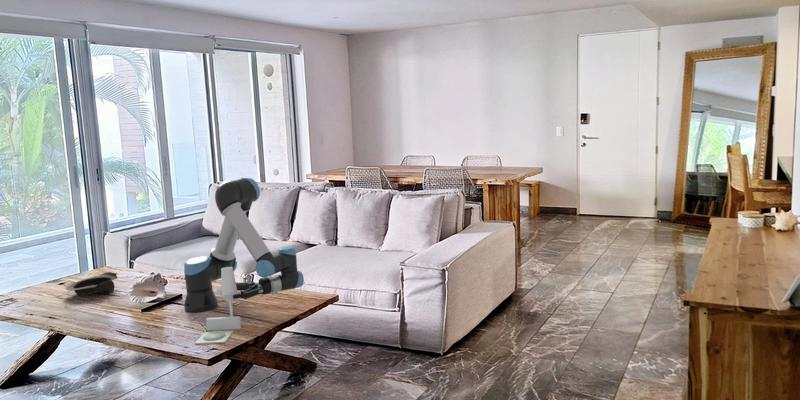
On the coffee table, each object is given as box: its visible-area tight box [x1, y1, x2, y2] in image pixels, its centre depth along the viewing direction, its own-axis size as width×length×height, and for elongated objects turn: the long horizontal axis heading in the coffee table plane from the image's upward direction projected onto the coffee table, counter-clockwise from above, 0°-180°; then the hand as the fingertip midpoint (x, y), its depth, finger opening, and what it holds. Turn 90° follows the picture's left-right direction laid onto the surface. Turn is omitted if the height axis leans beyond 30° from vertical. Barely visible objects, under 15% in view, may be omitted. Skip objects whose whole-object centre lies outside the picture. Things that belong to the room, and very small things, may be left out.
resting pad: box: [194, 330, 234, 346], centre depth 247 cm, size 12×12×1 cm
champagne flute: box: [220, 267, 238, 317], centre depth 264 cm, size 7×7×24 cm
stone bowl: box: [65, 271, 118, 297], centre depth 321 cm, size 25×25×9 cm
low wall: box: [205, 316, 242, 332], centre depth 256 cm, size 14×2×5 cm, turn 90°
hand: (220, 294), depth 262 cm, fingers open, 12 cm apart
